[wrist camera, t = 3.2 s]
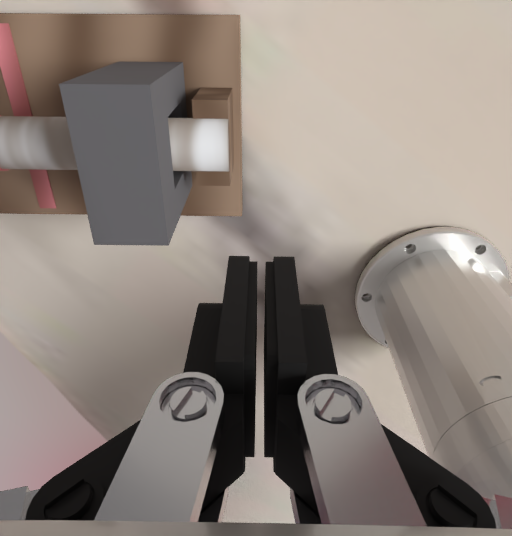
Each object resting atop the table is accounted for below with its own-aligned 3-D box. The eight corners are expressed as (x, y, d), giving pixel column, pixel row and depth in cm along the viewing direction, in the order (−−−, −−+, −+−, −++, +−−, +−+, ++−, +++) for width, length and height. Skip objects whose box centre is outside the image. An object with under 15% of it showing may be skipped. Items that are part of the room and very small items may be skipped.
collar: (183, 61, 26) (149, 84, 19) (192, 185, 30) (168, 245, 23) (118, 61, 26) (58, 84, 19) (136, 184, 30) (94, 244, 23)
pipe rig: (240, 14, 26) (233, 17, 20) (242, 209, 33) (237, 255, 27) (-98, 12, 26) (-205, 14, 20) (-26, 206, 33) (-91, 251, 27)
